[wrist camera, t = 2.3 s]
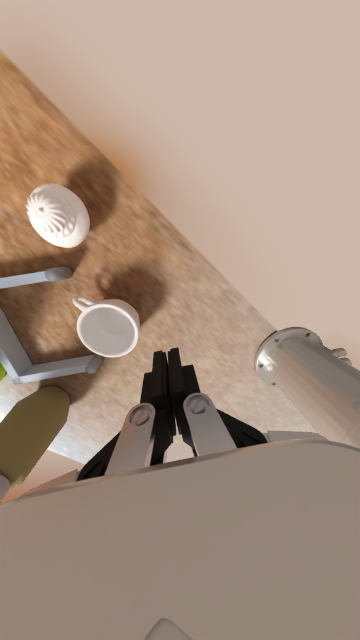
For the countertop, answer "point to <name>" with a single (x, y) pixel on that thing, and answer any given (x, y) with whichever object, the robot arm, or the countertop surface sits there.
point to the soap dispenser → (2, 371)
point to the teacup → (107, 326)
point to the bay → (9, 351)
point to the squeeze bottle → (29, 433)
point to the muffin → (58, 215)
